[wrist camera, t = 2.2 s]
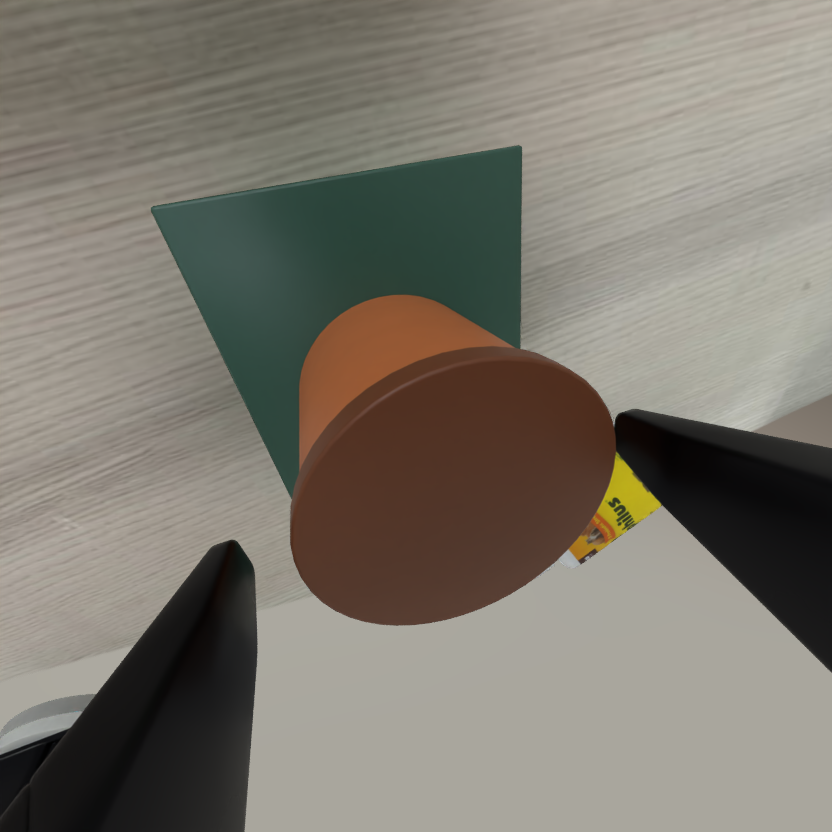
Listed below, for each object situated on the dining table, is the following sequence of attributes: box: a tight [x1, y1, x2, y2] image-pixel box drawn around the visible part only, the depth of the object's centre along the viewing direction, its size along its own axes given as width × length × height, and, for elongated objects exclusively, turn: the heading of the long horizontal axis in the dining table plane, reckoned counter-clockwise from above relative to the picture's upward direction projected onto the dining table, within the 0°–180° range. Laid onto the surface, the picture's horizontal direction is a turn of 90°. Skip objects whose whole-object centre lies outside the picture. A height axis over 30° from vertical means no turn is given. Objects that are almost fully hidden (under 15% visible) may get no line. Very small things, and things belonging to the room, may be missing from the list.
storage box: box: [151, 145, 522, 499], centre depth 14 cm, size 12×9×5 cm
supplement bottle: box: [536, 422, 662, 578], centre depth 22 cm, size 6×6×10 cm
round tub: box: [290, 295, 616, 626], centre depth 9 cm, size 7×7×6 cm
